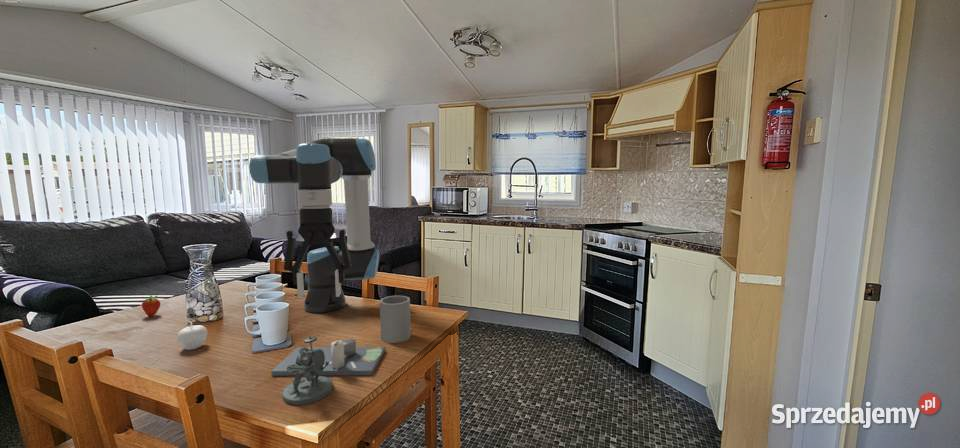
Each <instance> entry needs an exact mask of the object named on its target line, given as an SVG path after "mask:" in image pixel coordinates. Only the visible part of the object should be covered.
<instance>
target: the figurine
mask: <svg viewBox="0 0 960 448" xmlns="http://www.w3.org/2000/svg"><path fill="white" fill-rule="evenodd" d="M317 340H318V338H317V336H311V335H310V336H309V337H307V338H305V339H303V343H304V344H310V345H309V346H310V347H311V350H308V349H307V348H306V346H302V348H301V349H300V350H299V352H300V354H299V355H298V356H297V359H296V363H295V364H292V365H289V366H288V367H287V368H286V369H287V372H289V373H297V374H296V376H294V378H293V380H292V382H290V383H289V384H288V385H286V386H285V387H284V388H283V390H282V393H281V394H282V395H281V396H282V400H283V401H284V402H285V403H286V404H289V405H296V406H298V405H300V406H301V405H307V404H311V403H315V402H318V401H320V400H323V399H324V398H325V397H327V396H328V395H330V394H331V392H332V391H333V389H334V383H333V380H332V379H331V378H329V377H328V376H325V375H318V373H317V372H321V371H322V372H324V371H323V369H324V368H325V367H326V366H327V365H328V364H329V362H326V363H325V366H324V362H325V355H324V352H323V351H322V350H321V349H317V350H313V349H312V347H313V345H312V343H313V342H315V341H317ZM323 366H324V367H323ZM313 374H317V375H316V376H314V375H313Z"/></svg>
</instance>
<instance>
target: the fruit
mask: <svg viewBox="0 0 960 448" xmlns="http://www.w3.org/2000/svg"><path fill="white" fill-rule="evenodd" d="M141 307H142V310H143V312H144V313H145V314H146V316H147V317H153V316H155V315H156V314H157V313H158V311H159V310H160V307H161V301H160V300H159V299H158V295H155V296H153V295H151V294H150V297H144V299H142V302H141Z"/></svg>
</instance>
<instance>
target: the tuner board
mask: <svg viewBox="0 0 960 448" xmlns="http://www.w3.org/2000/svg"><path fill="white" fill-rule="evenodd" d="M302 347H303V346H302ZM302 347H301V346H297V347H296V348H295V349H294V350H293V351H292V352H291V353H290V354H289V355H287V356H286V357H285V358H284V359H283V360H282V361H281V362H279V364H278V365H276V366H275V367H274V368H273V369H272V370H271V372H270V373H271V376H273V377H274V376H275V377H278V376H279V377H280V376H282V377H285V376H287V377H289V376H294V377H296V374H297V373H289V372H287V369H286V368H287V367H288V366H289V365H292V364H295V363H296V359H297V356H298V355H299V354H300V352H299V350H300V349H301V348H302ZM305 347H306V346H305ZM306 348H307V349H308V350H311V346H307V347H306ZM312 349H313V350H317V349H321V350H322V351H323V352H324V355H325V362H324V366H325V363H326V362H329V364H328V365H327V366H326V367H325V368H324V369H323V371H324V372H322V371H321V372H317V373H318V376H372V375H373V374H374V372H375V370H376V368H377V366H378V364H379V363H380V361H381V360H382V357H383V356H384V353H385V351H386V347H385V346H356V354H355V355H353V356H351V357H348V358H347V359H346V360H345V362H344V364H345V365H344V366H343V367H341V368H333V367H332V355H331V346H312ZM324 366H323V367H324ZM313 375H314V376H317V374H313Z"/></svg>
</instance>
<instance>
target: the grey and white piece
mask: <svg viewBox="0 0 960 448" xmlns="http://www.w3.org/2000/svg"><path fill="white" fill-rule="evenodd" d="M356 344H357V343H356V340H355V339H353V338H348V339H346V338H345V339H343V340H334V341H332V342H331V343H330V347H331V355H332V367H333V368H341V367H343V366H344V365H345V364H344V362H345V360H346V359H347V358H348V357H351V356H353V355H355V354H356V347H357V345H356Z"/></svg>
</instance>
